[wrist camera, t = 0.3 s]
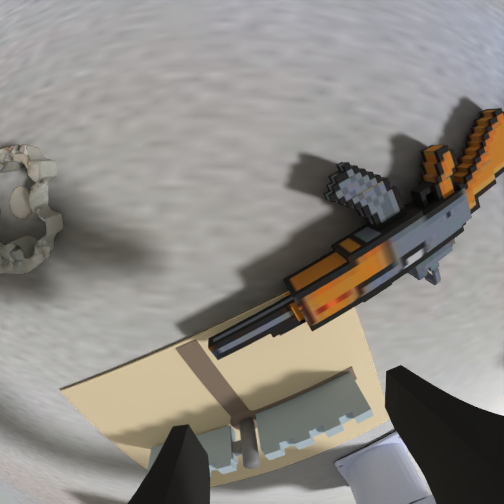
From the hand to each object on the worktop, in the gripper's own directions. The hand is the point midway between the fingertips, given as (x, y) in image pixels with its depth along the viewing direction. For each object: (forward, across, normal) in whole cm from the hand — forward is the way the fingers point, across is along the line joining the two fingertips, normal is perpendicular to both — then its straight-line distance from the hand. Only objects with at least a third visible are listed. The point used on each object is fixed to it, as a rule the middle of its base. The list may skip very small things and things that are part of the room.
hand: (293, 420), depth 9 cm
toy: (+10, -9, -3) cm, 14 cm away
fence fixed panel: (+10, -1, +9) cm, 13 cm away
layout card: (+10, +4, +10) cm, 15 cm away
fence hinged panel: (+9, +8, +11) cm, 16 cm away
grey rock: (+10, +15, -11) cm, 21 cm away
